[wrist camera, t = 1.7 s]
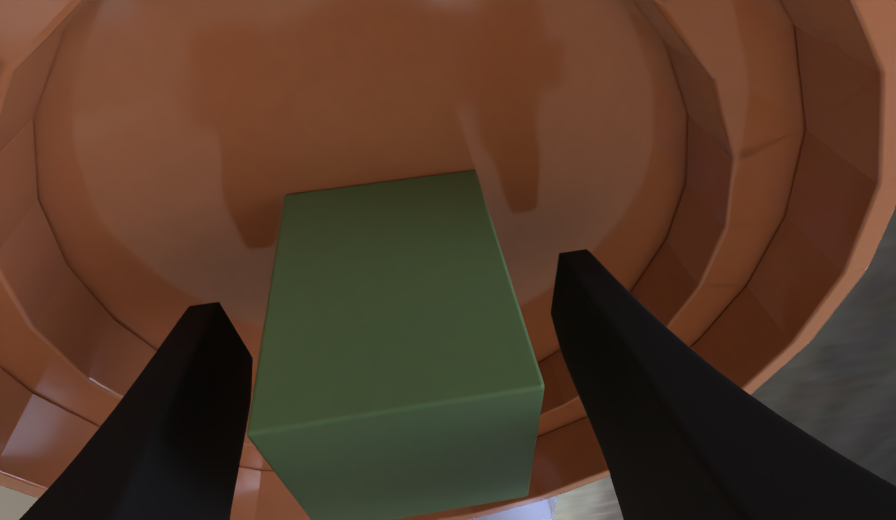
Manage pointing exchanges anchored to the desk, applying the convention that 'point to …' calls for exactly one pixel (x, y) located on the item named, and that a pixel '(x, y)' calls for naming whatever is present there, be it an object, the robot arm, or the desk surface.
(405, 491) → the green block
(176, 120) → the basin
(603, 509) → the desk surface
